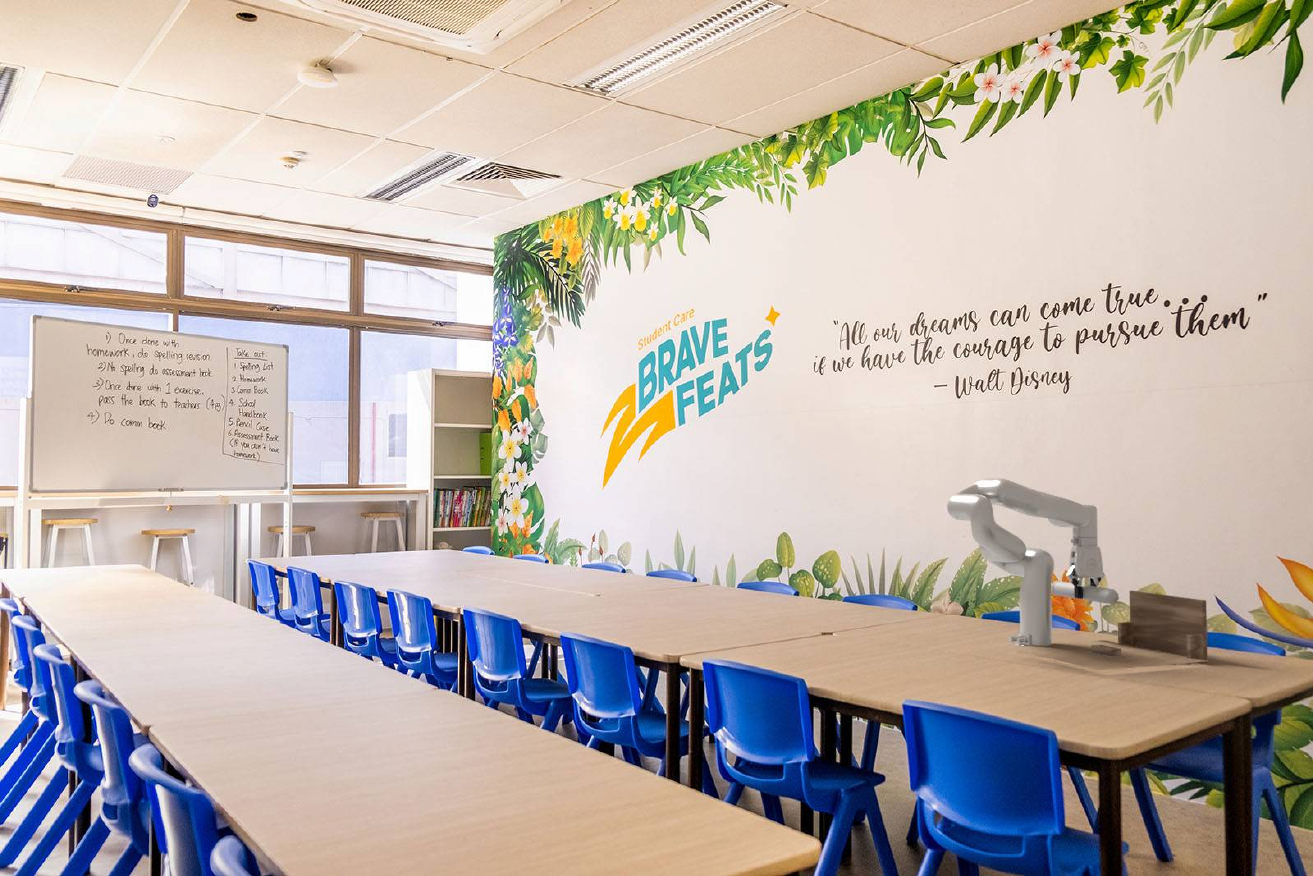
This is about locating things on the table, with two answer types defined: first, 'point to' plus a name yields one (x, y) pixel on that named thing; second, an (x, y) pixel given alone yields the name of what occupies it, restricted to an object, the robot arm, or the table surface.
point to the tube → (1086, 592)
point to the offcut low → (1105, 655)
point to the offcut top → (1106, 650)
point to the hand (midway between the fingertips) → (1085, 597)
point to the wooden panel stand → (1166, 624)
